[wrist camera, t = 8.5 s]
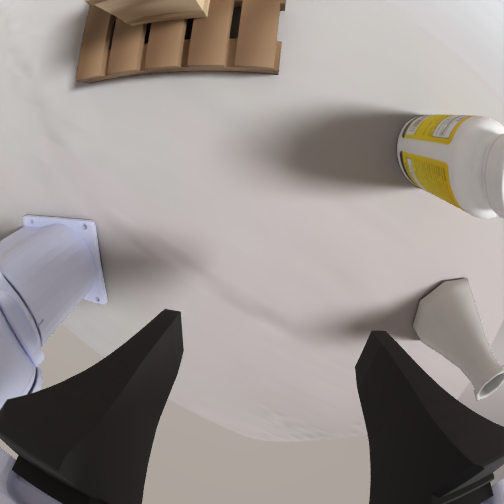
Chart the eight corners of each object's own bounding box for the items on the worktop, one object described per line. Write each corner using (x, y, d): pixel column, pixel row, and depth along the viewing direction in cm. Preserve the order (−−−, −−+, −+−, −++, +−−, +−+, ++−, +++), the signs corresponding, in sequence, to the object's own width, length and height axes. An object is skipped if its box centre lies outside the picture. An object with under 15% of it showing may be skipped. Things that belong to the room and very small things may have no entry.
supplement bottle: (446, 195, 17) (534, 249, 8) (388, 178, 17) (475, 229, 8) (459, 128, 15) (557, 148, 6) (400, 104, 15) (499, 98, 6)
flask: (472, 265, 19) (536, 332, 10) (469, 321, 22) (513, 388, 13) (408, 294, 21) (460, 382, 12) (412, 348, 23) (446, 427, 14)
